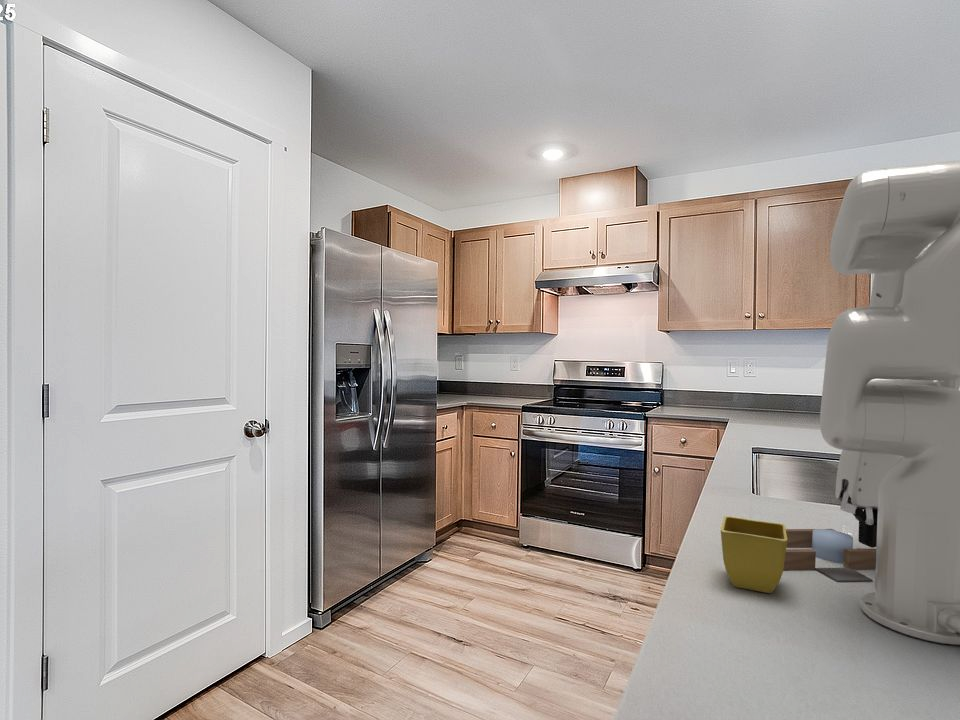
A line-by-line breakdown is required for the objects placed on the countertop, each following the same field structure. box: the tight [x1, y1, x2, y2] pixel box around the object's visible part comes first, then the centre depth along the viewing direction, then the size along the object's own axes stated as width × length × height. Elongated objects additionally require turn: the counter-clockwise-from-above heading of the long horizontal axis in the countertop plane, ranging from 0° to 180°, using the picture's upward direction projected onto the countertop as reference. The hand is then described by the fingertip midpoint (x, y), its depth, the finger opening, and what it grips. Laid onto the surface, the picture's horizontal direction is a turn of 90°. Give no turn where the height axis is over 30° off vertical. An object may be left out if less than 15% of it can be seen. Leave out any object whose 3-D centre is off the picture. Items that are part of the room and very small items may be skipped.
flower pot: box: [720, 515, 788, 594], centre depth 83 cm, size 9×9×9 cm
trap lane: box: [783, 528, 876, 583], centre depth 95 cm, size 21×21×4 cm
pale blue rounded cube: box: [811, 528, 854, 564], centre depth 96 cm, size 6×6×4 cm
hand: (869, 544), depth 96 cm, fingers closed
